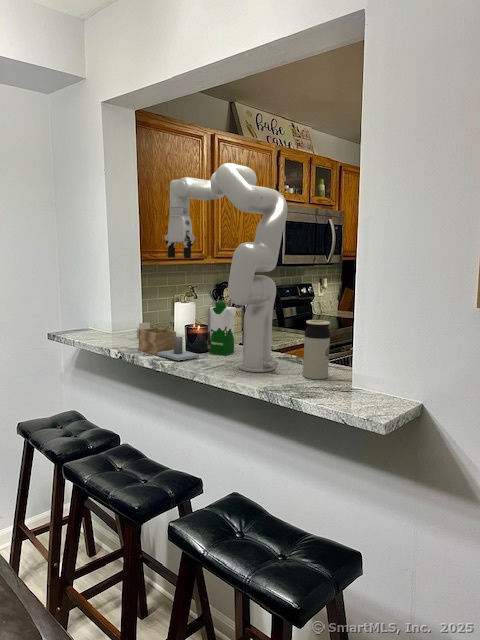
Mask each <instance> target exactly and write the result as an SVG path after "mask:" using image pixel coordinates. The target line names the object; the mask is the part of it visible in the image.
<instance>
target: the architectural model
mask: <svg viewBox="0 0 480 640" xmlns="http://www.w3.org/2000/svg"><path fill="white" fill-rule="evenodd" d="M143 329H151V322H140V323H138V328H137V329H136V330H134V331H135V332H136V339H138V340H139V330H143Z"/></svg>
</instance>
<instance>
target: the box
mask: <svg viewBox="0 0 480 640" xmlns="http://www.w3.org/2000/svg"><path fill="white" fill-rule="evenodd" d="M174 337H177V331H174V330H170V329H167V328H161V327H154V328H153V327H152V328H151V327H150V329H143V330H139V339H138V351H140V350H141V352H144V351H145V353H147V354H151V353H152V355H156V356H158V355H157V352H162V351H168V350H174Z"/></svg>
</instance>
